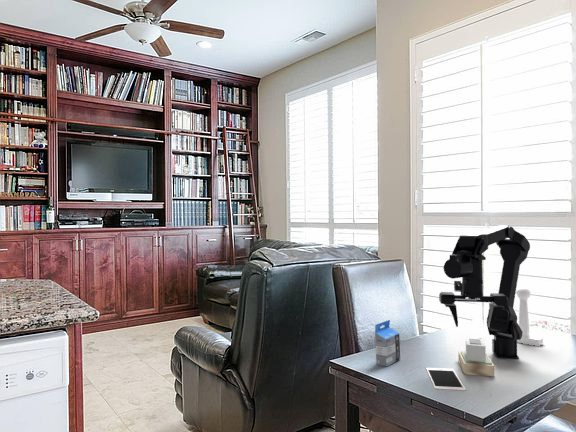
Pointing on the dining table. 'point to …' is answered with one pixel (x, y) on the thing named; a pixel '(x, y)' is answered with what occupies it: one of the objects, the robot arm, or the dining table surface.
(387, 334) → the label tape box
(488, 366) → the stand
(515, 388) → the dining table surface
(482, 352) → the box
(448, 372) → the cell phone
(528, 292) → the joystick
